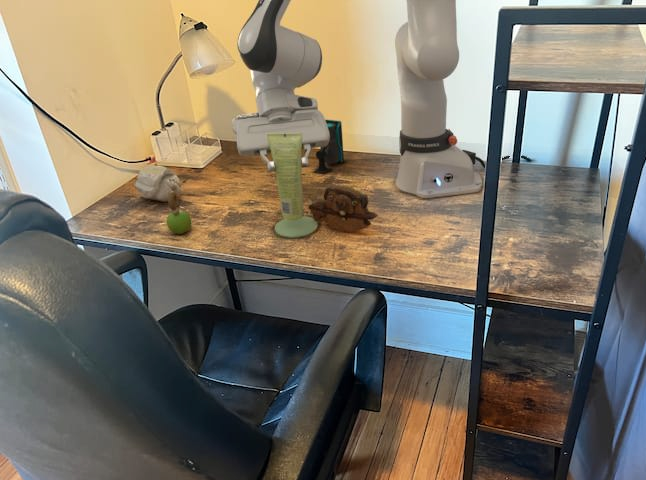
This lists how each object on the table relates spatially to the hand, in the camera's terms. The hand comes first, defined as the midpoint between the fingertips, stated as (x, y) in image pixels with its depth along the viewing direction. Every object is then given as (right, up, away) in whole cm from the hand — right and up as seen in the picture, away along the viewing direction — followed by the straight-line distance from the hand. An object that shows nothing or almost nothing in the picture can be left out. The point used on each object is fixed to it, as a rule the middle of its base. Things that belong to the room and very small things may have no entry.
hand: (288, 168), depth 116 cm
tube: (0, -10, +7) cm, 12 cm away
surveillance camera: (+6, +8, +39) cm, 40 cm away
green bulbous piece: (-26, -13, +10) cm, 31 cm away
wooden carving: (+12, -13, +6) cm, 18 cm away
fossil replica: (-37, -3, +26) cm, 45 cm away
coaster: (+1, -12, +9) cm, 15 cm away
